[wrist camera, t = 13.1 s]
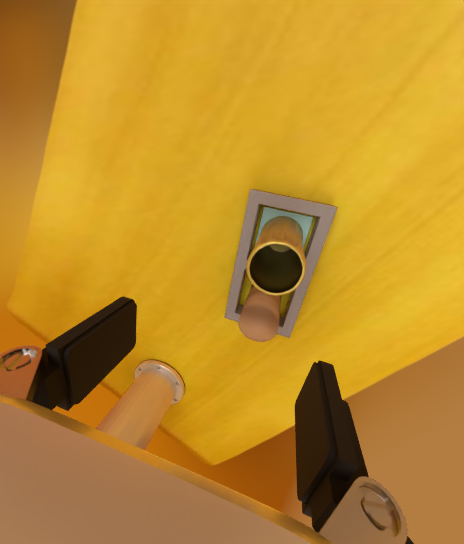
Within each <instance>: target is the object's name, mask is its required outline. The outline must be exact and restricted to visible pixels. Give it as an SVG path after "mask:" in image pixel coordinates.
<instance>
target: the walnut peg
mask: <svg viewBox="0 0 464 544" xmlns="http://www.w3.org/2000/svg"><path fill="white" fill-rule="evenodd" d="M280 304H281V295H280V296H273V295H268V294H265V293H263V292H261V291H259V290H258V289H257V288H255V287H254V286H253V284H252V287H251V289H250V292H249V294H248V297H247V299H246V302H245V304H244V307H243V309H242V312H241V314H240V317H239V321H238V324H239V328H240V330H241V332H242V333H243V334H244V335H245V336H246V337H247V338H249V339H251V340H253V341H258V342H264V341H268V340H270V339H272V338H273V337H274V336H275V335H276V334H277V332H278V326H279V315H280Z"/></svg>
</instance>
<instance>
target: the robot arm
mask: <svg viewBox="0 0 464 544" xmlns="http://www.w3.org/2000/svg"><path fill="white" fill-rule="evenodd" d="M136 311H137V305H136V303H135V301H134V300H133V299H130V298H126V297H121V298H119V299H117V300H116V301H114V302H113V303H111V304H110V305H108V306H106V307H105V308H103V309H102V310H100V311H99V312H97V313H95V314H94V315H92V316H91V317H89V318H87V319H86V320H84V321H83V322H81V323H80V324H78V325H76V326H75V327H73V328H72V329H70V330H68V331H67V332H65V333H64V334H62V335H61V336H59V337H57V338H56V339H54V340H53V341H51V342H50V343H48V344H46V348H44V349H43V350H41V349H40V348H38V347H36V346H21V347H16V348H13V349H10V350H8V351H6V352H4V353H2V354H1V355H0V544H414V543H413V542H412V541H411V540H410V538H409V537H408V536H407V534H408V533H407V532H408V529H407V524H406V519H405V517H404V515H403V512H402V510H401V508H400V506H399V505H398V503H397V501H396V500H395V498H394V497H393V496H392V495H391V494H390V493H389V491H388V490H387V489H386V488H384V487H383V486H382V485H381V484H380V483H379V482H377V481H376V480H374V479H372V478H369V476H368V473H367V469H366V466H365V462H364V458H363V455H362V451H361V448H360V444H359V441H358V437H357V434H356V430H355V426H354V423H353V419H352V416H351V412H350V408H349V406H348V403H347V402H346V401H344V400H342V398H341V394H340V390H339V386H338V382H337V378H336V374H335V370H334V367H333V365H332V364H329V363H326V362H323V361H318V363H316V362H314V363H313V365H312V367H311V369H310V372H309V374H308V376H307V378H306V380H305V382H304V385H303V387H302V389H301V391H300V393H299V395H298V398H297V400H296V403H295V428H296V429H295V432H296V466H297V496H298V499H299V500H300V501H302V513H303V514H305V515H307V516H310V517H312V527H313V528H314V530H315V531H314V530H313V529H311V528H310V527H308V526H306V525H304V524H303V523H301V522H299V521H297V520H295V519H293V518H291V517H290V516H288V515H286V514H283V513H282V512H279V511H277V510H275V509H273V508H271V507H269V506H267V505H264V504H263V503H260V502H258V501H256V500H254V499H251V498H250V497H248V496H246V495H243V494H241V493H239V492H237V491H235V490H232V489H230V488H228V487H226V486H223V485H221V484H219V483H217V482H215V481H212V480H210V479H208V478H205V477H203V476H201V475H199V474H197V473H194V472H192V471H190V470H188V469H185V468H183V467H181V466H179V465H177V464H174V463H172V462H170V461H168V460H165V459H163V458H161V457H158V456H156V455H154V454H152V453H149V452H147V451H145V449H146V447H147V445H148V444H149V442H150V440H151V439H152V437H153V435H154V433H155V431H156V430H157V428H158V426H159V424H160V422H161V421H162V419H163V417H164V415H165V413H166V412H167V410H168V408H169V406H170V405H171V404H175V403H177V402H179V401H180V400H181V398H182V397H183V394H184V391H185V387H184V383H183V380H182V379H181V377H180V375H179V374H178V373H177V372H176V371H175V370H174V369H173V368H172V367H170V366H169V365H167V364H165V363H163V362H160V361H156V360H147V361H144V362H142V363H140V364H139V366H138V367H137V368H136V370H135V373H134V378H135V381H134V382H133V383H132V385H131V386H130V387H129V388H128V390H127V391H126V392H125V393H124V395H123V396H122V397H121V398H120V399H119V401H118V402H117V403H116V404H115V406H114V407H113V408H112V409H111V411H110V412H109V413H108V414H107V415H106V417H105V418H104V419H103V421H102V422H101V423H100V424H99V425H98V427H97V428H96V429H95V428H92V427H90V426H88V425H85V424H83V423H81V422H79V421H76V420H74V419H72V418H69V417H67V416H65V415H62V414H60V413H57V412H55V411H52V409H54V408H55V407H56V406H58V407H60V408H62V409H65V410H67V411H68V410H69V409H70V408H71V407H72V406H73V405H74V404H78V403H80V402H81V401H82V400H83V399H84V398H85V397H86V396H87V395H88V394H89V393H90V392H91V391H92V390H93V389H94V388H95V387H96V386H97V385H98V384H99V383H100V382H101V381H102V380H103V379H104V378H105V377H106V376H107V375H108V374H109V373H110V372H111V371H112V370H113V369H114V368H115V367H116V365H117V364H118V363H119V362H120V361H121V360H122V359H123V358H124V357H125V356H126V355H127V354H128V353H129V352H130V351H131V350H132V349H133V348H134V346H135V344H136Z"/></svg>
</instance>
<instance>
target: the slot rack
mask: <svg viewBox="0 0 464 544" xmlns="http://www.w3.org/2000/svg"><path fill="white" fill-rule="evenodd" d="M261 204H263V205H268V206H272V207H277V208H282V209H286V210H291V211H296V212H300V213H305V214H310V215H314V216H317V219H316V222H315V225H314V228H313V231H312V234H311V237H310V240H309V243H308V246H307V249H306V252H305V254H304V255H305V259H306V270H305V276H304V279H303V280H302V282H301V283H300V285H299V286H298V287H297V288H296V289H295V290H294V291H292V293H291V296H290V299H289V302H288V305H287V308H286V311H285V314H284V317H281V316H279V326H278V332H277V334H279V335H282V336H285V337H288V338H290V335H291V333H292V330H293V327H294V324H295V322H296V319H297V316H298V313H299V311H300V308H301V305H302V303H303V300H304V297H305V294H306V292H307V289H308V286H309V283H310V281H311V278H312V275H313V273H314V270H315V267H316V264H317V262H318V259H319V256H320V254H321V251H322V248H323V245H324V243H325V240H326V237H327V234H328V232H329V229H330V226H331V224H332V221H333V218H334V215H335V213H336V210H337V207H336V206H333V205H328V204H323V203H318V202H314V201H309V200H304V199H299V198H294V197H289V196H284V195H279V194H274V193H269V192H265V191H260V190H255V189H250V194H249V199H248V204H247V209H246V213H245V218H244V223H243V228H242V233H241V238H240V243H239V248H238V253H237V258H236V263H235V268H234V273H233V278H232V283H231V288H230V293H229V298H228V303H227V308H226V313H225V318H227V319H230V320H234V321H237V322H238V321H239V317H240V314H241V312H242V309H243V307H244V305H240V304H239V300H240V296H241V291H242V287H243V283H244V278H245V274H246V266H247V260H248V258H249V256H250V252H251V247H252V243H253V239H254V234H255V230H256V225H257V221H258V216H259V212H260V208H261ZM277 216H288V217H291V218H292V219H294V220H296V221H297V222H298V223H299V225H300V226H301V228H302V231H303V241H302V246H303V247H304V244H305V241H306V238H307V235H308V232H309V229H310V226H311V223H312V220H313V217H310V216H306V215H301V214H296V213H292V212H287V211H282V210H278V209H273V208H269V207H264V209H263V214H262V218H261V222H260V226H259V231H258V235H257V239H256V243H257V241H258V238H259V235H260V233H261V231H262V228H263V226H264V225H265V224H266V222H267V221H268V220H270V219H272V218H274V217H277ZM255 245H256V244H255Z"/></svg>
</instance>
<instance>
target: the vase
mask: <svg viewBox="0 0 464 544" xmlns="http://www.w3.org/2000/svg"><path fill="white" fill-rule="evenodd" d="M302 241H303V231H302V228H301V226H300V225H299V223H298V222H297V221H296V220H294V219H292V218H291V217H288V216H277V217H274V218H272V219H270V220H268V221H267V222H266V224H265V225H264V226H263V228H262V231H261V233H260V235H259V238H258V241H257V243H256V245H255V247H254V249H253V251H252V252H251V254H250V256H249V258H248V260H247V266H246V270H247V276H248V278H249V280H250V282H251V283H252V284H253V286H254V287H255V288H257V289H258V290H259V291H261V292H263V293H265V294H268V295H273V296H280V295H285V294H288V293H291V292H292V291H294V290H295V289H296V288H297V287H298V286H299V285H300V283H301V282H302V280H303V279H304V276H305V270H306V259H305V255H304V251H303V246H302Z"/></svg>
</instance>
